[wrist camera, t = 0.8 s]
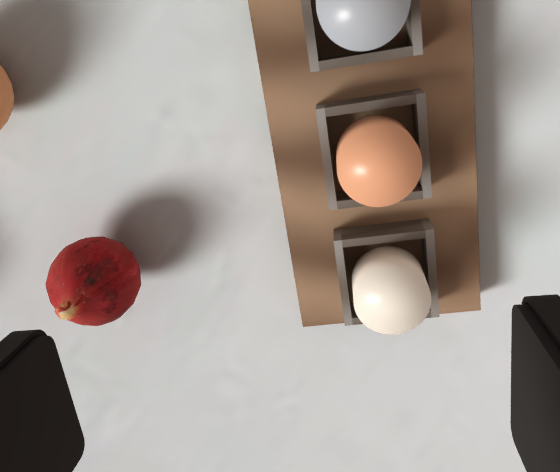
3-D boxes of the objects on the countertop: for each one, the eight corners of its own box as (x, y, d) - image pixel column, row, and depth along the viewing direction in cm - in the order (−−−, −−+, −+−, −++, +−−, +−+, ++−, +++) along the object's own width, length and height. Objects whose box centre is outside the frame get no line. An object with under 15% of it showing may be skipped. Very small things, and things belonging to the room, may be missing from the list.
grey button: (311, -36, 27) (309, -42, 24) (399, -52, 27) (407, -61, 24) (323, 54, 29) (322, 58, 26) (406, 40, 28) (414, 43, 25)
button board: (244, -52, 31) (232, -61, 27) (459, -94, 29) (478, -111, 25) (304, 312, 39) (301, 342, 36) (473, 295, 38) (488, 326, 34)
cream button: (347, 250, 33) (349, 271, 30) (420, 242, 32) (428, 262, 30) (355, 312, 35) (357, 337, 32) (425, 305, 34) (433, 331, 31)
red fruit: (107, 204, 37) (53, 250, 30) (170, 258, 39) (132, 314, 31) (62, 257, 39) (0, 312, 32) (123, 307, 40) (77, 371, 33)
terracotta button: (331, 121, 30) (331, 131, 27) (411, 109, 29) (419, 118, 27) (340, 195, 32) (341, 211, 29) (416, 185, 31) (424, 201, 28)
